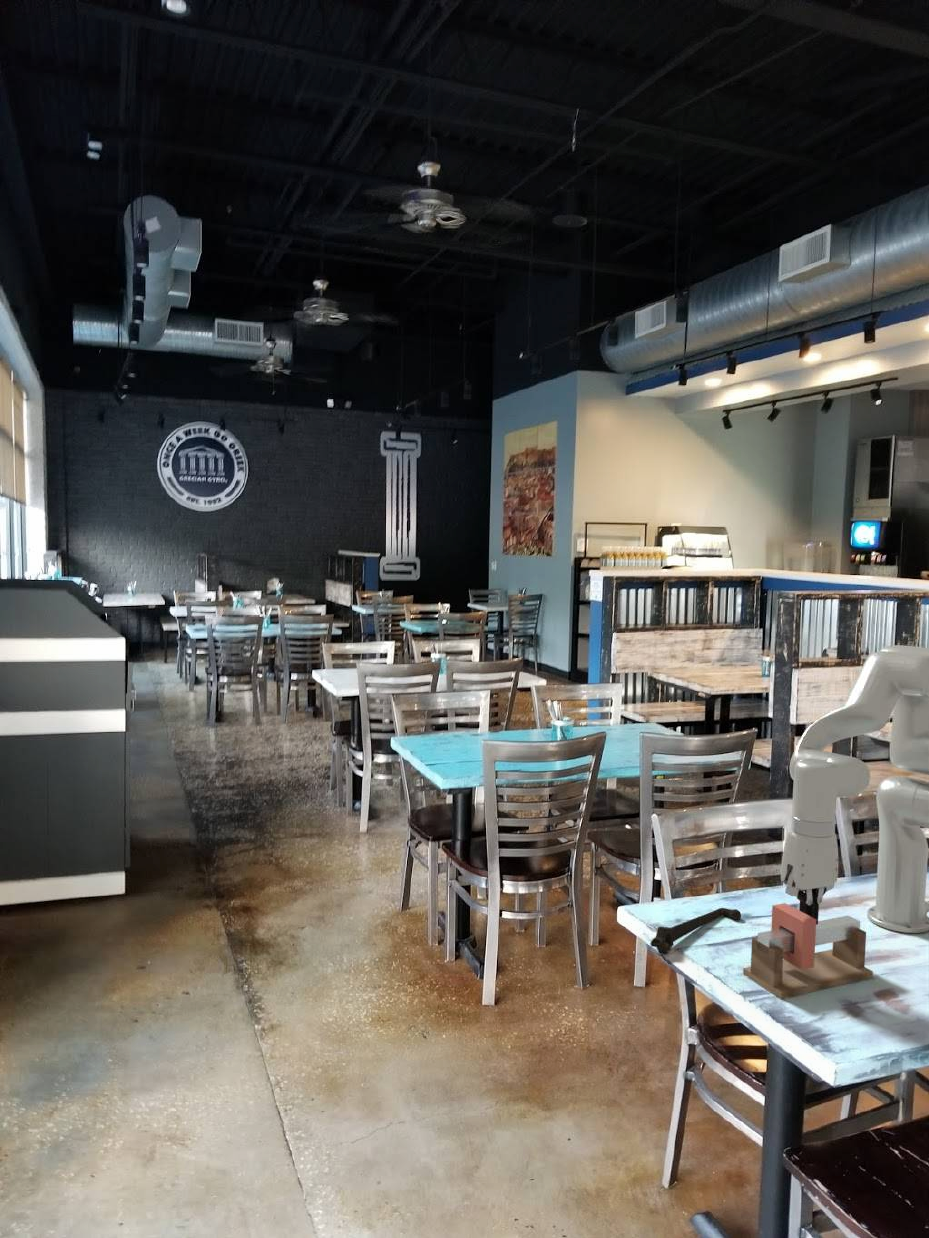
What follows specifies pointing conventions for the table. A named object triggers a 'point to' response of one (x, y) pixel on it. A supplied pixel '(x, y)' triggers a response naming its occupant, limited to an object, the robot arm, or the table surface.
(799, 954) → the salmon pink rectangular block
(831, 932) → the rod
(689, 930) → the wrench
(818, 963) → the pipe stand
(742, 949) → the table surface
